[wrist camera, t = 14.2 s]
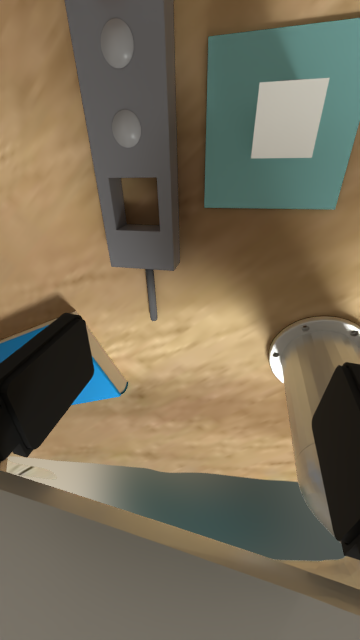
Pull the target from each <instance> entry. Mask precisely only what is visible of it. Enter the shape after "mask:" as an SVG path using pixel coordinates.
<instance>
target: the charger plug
mask: <svg viewBox="0 0 360 640" xmlns="http://www.w3.org/2000/svg"><path fill="white" fill-rule="evenodd" d="M329 79H330V78H318V79H297V80H282V81H274V82H260V84H259V93H258V101H257V110H256V118H255V127H254V136H253V144H252V153H251V158H312V155H313V150H314V146H315V141H316V137H317V132H318V128H319V123H320V119H321V115H322V110H323V106H324V101H325V97H326V92H327V88H328V83H329Z"/></svg>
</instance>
